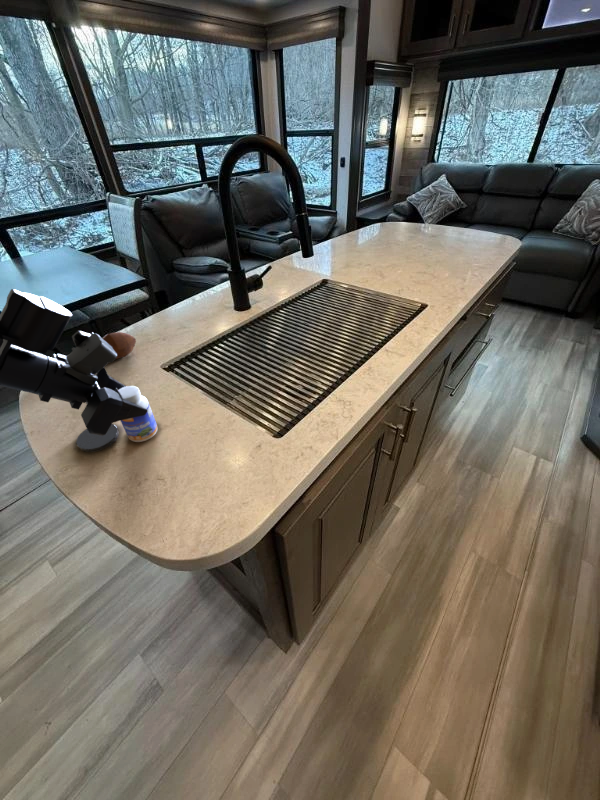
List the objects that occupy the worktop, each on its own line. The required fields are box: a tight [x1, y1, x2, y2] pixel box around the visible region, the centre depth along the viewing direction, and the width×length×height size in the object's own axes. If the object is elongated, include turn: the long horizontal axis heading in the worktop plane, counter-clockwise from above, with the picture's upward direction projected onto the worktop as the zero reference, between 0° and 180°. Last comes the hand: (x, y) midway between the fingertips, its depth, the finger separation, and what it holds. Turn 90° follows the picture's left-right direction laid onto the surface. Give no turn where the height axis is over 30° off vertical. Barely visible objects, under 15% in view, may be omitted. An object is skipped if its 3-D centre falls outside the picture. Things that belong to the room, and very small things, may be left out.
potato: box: [101, 331, 137, 360], centre depth 84 cm, size 6×12×6 cm, turn 141°
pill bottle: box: [119, 385, 158, 443], centre depth 61 cm, size 5×5×10 cm
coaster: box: [75, 423, 120, 453], centre depth 62 cm, size 7×7×1 cm
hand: (140, 403), depth 60 cm, fingers open, 6 cm apart
